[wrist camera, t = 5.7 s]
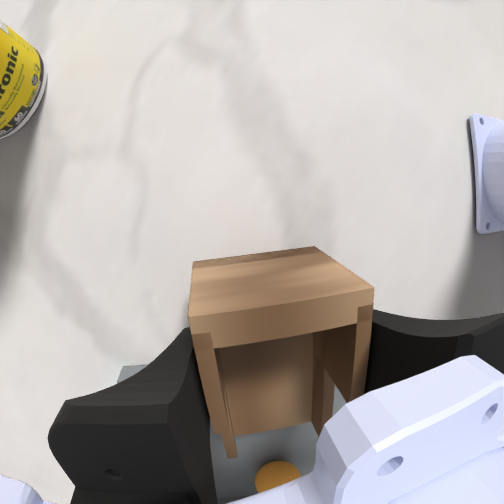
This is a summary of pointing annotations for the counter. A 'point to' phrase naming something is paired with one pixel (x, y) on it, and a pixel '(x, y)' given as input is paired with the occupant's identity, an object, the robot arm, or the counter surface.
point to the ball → (275, 475)
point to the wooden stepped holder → (278, 339)
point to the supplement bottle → (18, 80)
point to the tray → (257, 451)
